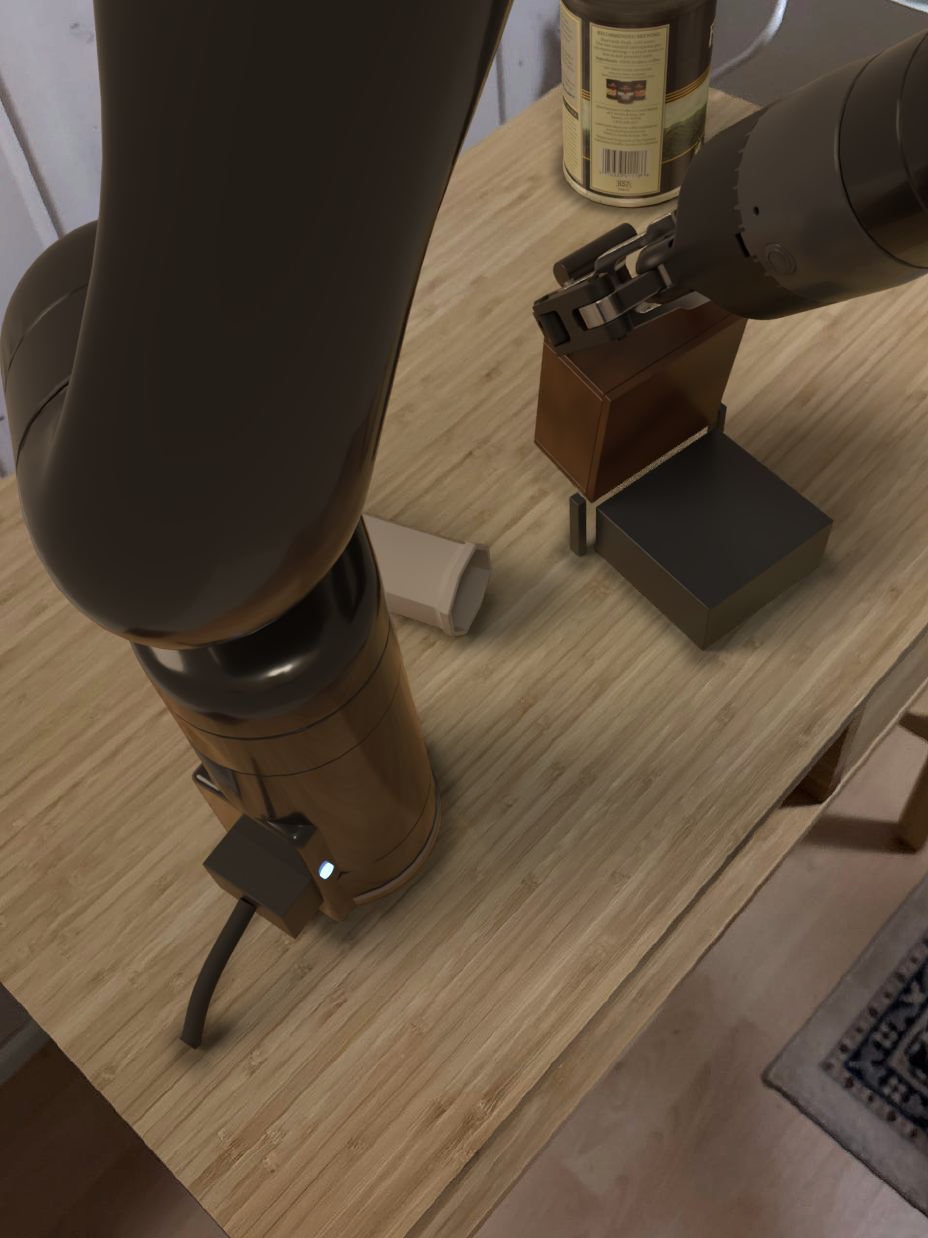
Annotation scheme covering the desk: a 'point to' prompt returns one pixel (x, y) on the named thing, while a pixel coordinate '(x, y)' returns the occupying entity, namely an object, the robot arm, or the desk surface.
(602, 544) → the stand
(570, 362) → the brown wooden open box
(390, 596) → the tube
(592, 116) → the coffee can
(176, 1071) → the desk surface
